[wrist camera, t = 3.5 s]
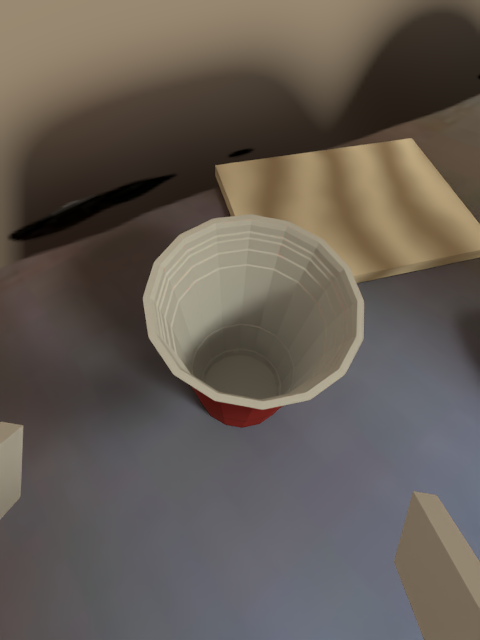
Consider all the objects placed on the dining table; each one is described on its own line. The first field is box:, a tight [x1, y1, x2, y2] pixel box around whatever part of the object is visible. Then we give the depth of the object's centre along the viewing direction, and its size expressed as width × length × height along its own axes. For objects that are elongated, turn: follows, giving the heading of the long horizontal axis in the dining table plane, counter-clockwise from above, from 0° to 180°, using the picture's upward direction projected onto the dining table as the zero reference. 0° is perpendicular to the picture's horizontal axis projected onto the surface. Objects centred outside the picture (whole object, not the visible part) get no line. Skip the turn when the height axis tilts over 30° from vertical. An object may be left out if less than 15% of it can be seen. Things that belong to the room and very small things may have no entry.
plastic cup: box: [143, 214, 364, 427], centre depth 25 cm, size 11×11×12 cm
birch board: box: [215, 138, 480, 283], centre depth 40 cm, size 22×16×1 cm
